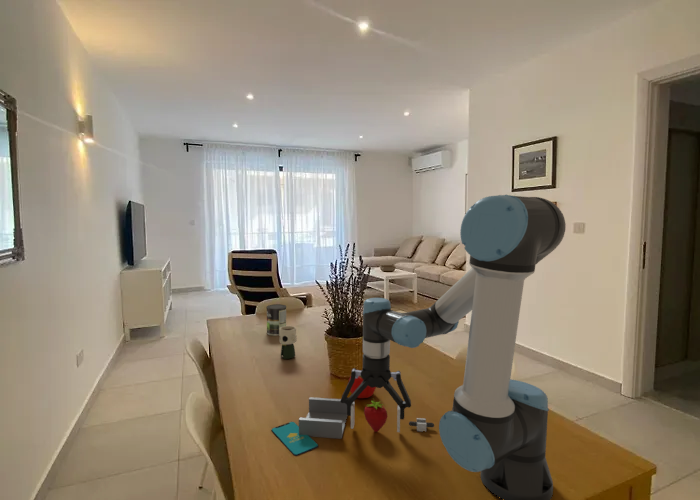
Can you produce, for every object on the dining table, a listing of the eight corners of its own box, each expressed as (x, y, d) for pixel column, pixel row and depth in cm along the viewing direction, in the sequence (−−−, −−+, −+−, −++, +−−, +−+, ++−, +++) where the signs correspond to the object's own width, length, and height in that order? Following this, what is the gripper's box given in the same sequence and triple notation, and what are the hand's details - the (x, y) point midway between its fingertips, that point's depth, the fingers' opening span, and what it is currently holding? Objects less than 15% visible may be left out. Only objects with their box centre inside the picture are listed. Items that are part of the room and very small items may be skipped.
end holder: (341, 438, 105) (341, 422, 105) (298, 435, 107) (298, 419, 106) (347, 414, 119) (348, 399, 118) (309, 411, 120) (309, 397, 120)
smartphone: (294, 454, 97) (270, 428, 110) (294, 458, 97) (270, 431, 110) (319, 445, 102) (293, 420, 114) (319, 448, 102) (293, 423, 114)
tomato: (377, 391, 134) (378, 370, 134) (372, 403, 126) (372, 380, 125) (351, 388, 137) (352, 367, 136) (344, 399, 128) (345, 377, 128)
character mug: (273, 356, 167) (273, 327, 166) (286, 352, 173) (286, 324, 171) (289, 363, 160) (289, 332, 159) (302, 358, 165) (302, 328, 164)
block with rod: (434, 432, 109) (434, 424, 108) (408, 430, 110) (408, 423, 109) (433, 426, 112) (433, 419, 112) (408, 424, 113) (408, 417, 113)
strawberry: (375, 441, 104) (375, 406, 103) (359, 429, 110) (359, 395, 109) (392, 434, 107) (392, 400, 107) (375, 422, 114) (375, 390, 113)
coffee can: (269, 336, 195) (268, 309, 194) (264, 331, 204) (264, 305, 203) (289, 334, 199) (288, 307, 198) (283, 329, 209) (283, 303, 208)
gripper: (420, 351, 109) (418, 423, 111) (335, 347, 112) (334, 417, 114) (421, 361, 102) (419, 438, 104) (330, 356, 105) (330, 431, 107)
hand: (375, 427), depth 109 cm, fingers open, 12 cm apart
